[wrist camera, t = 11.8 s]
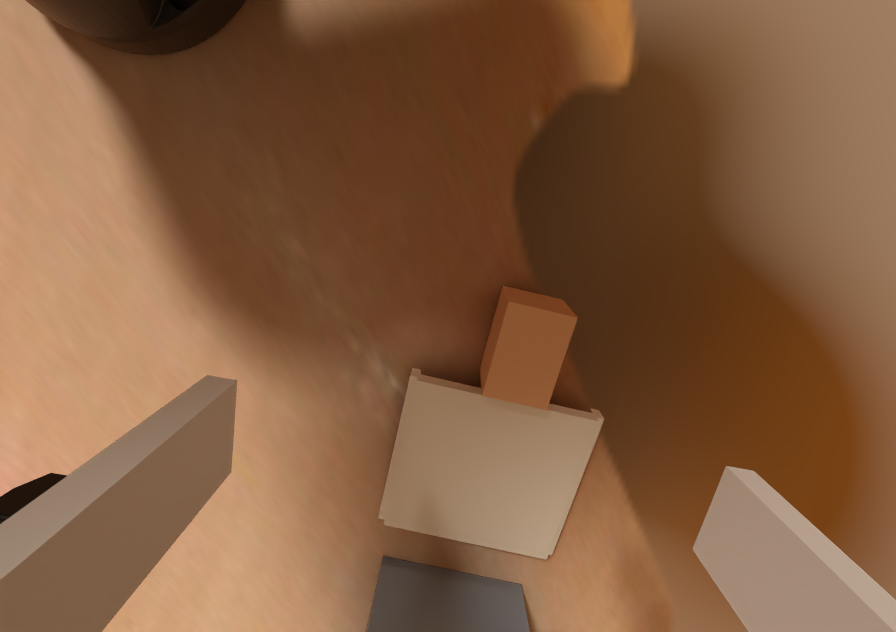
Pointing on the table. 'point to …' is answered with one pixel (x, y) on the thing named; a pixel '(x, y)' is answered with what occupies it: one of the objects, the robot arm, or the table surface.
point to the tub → (443, 601)
